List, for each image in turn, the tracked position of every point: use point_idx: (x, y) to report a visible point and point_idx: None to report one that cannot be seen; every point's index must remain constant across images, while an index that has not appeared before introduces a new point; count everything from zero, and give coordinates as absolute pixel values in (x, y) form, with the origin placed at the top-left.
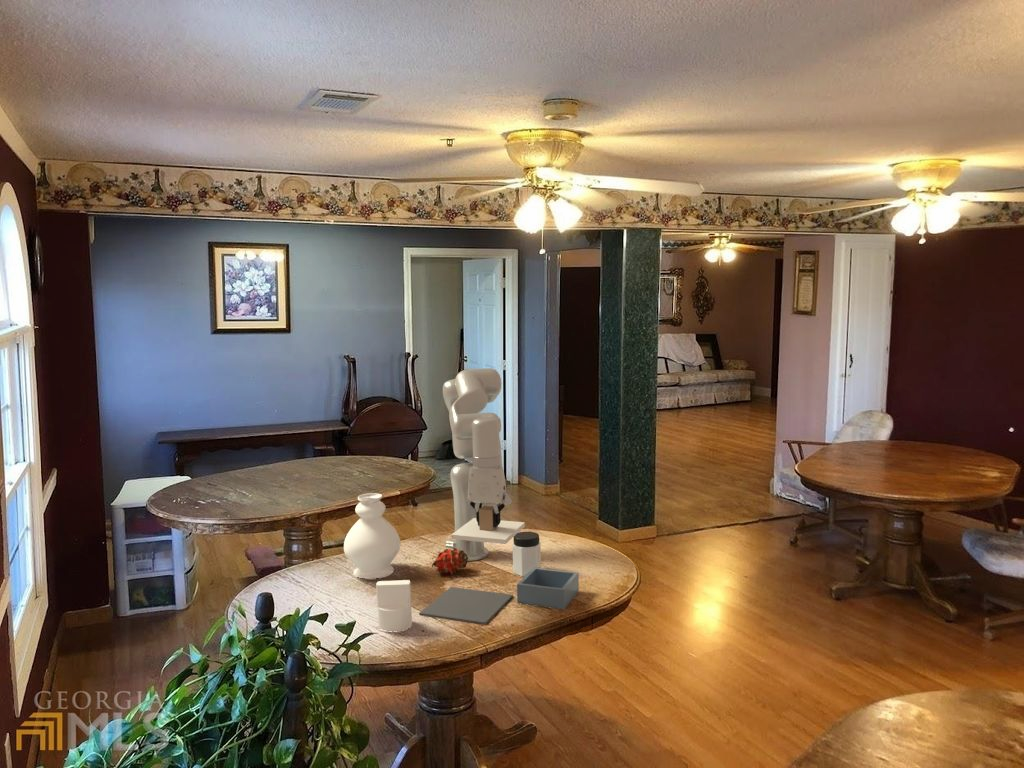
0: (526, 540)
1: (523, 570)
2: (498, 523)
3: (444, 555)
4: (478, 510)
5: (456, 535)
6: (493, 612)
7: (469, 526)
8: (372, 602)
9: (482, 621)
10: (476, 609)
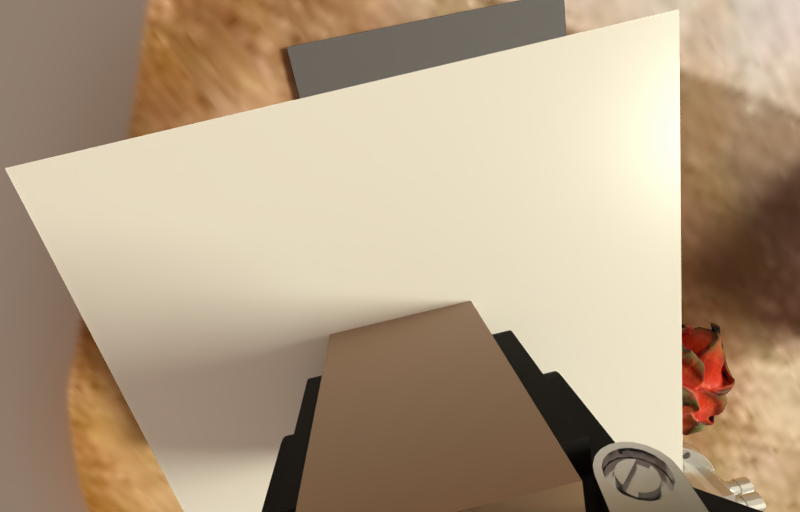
0: None
1: None
2: (291, 435)
3: (704, 370)
4: (595, 480)
5: (610, 27)
6: None
7: (614, 335)
8: (783, 5)
9: (302, 50)
10: None
